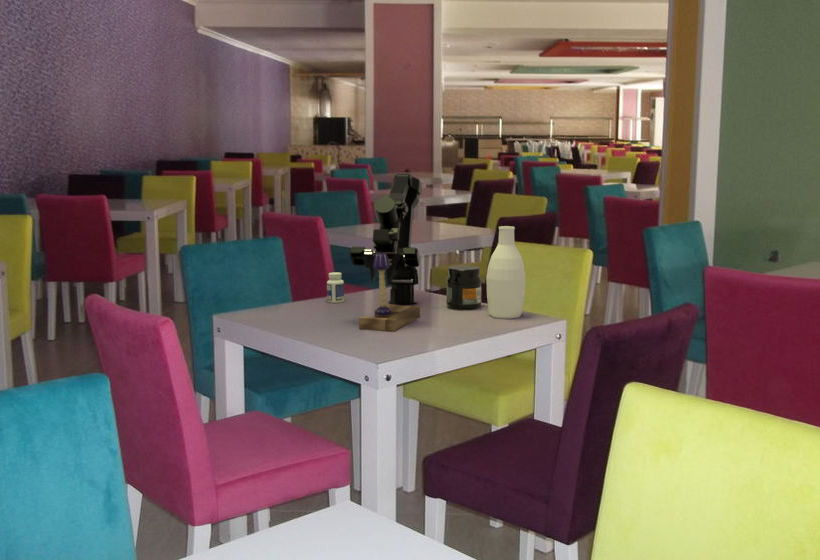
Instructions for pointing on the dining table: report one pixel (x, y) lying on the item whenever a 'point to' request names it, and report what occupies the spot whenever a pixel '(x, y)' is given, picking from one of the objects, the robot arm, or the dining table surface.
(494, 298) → the bottle
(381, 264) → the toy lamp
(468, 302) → the supplement container
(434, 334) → the dining table surface
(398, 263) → the robot arm
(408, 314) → the notched board
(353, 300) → the dining table surface
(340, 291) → the pill bottle
